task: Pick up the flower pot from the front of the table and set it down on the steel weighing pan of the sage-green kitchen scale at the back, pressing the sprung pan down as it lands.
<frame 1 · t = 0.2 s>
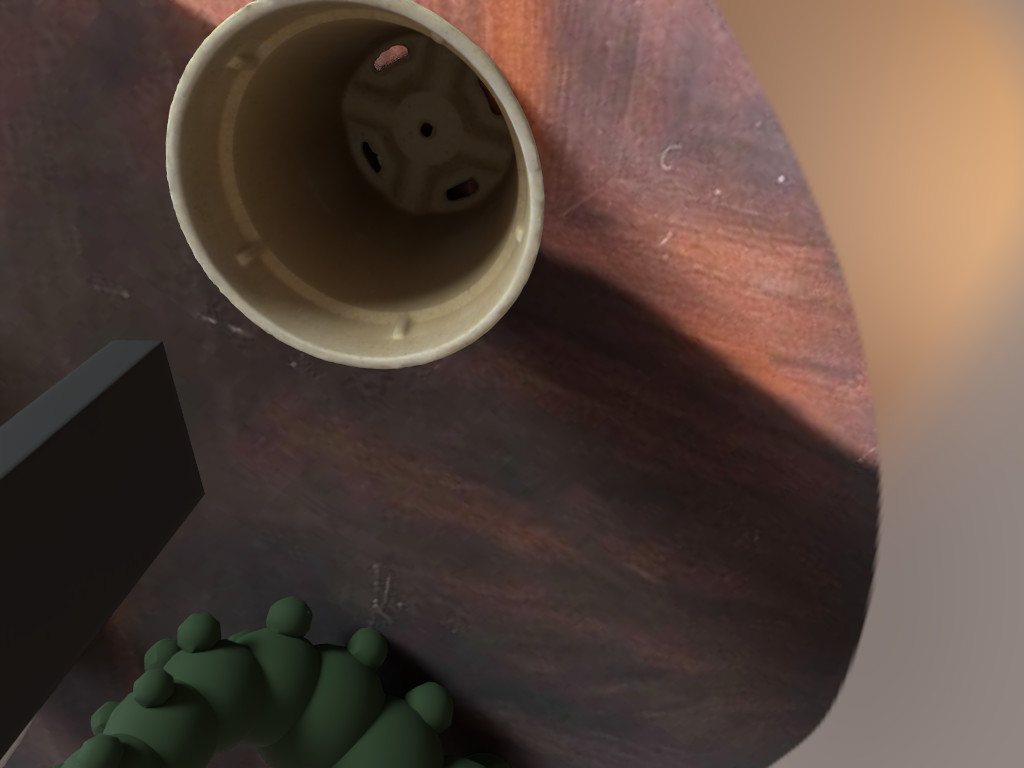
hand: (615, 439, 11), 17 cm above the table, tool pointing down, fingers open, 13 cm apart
flower pot: (430, 127, 26), on the table
toy figurine: (397, 691, 41), on the table
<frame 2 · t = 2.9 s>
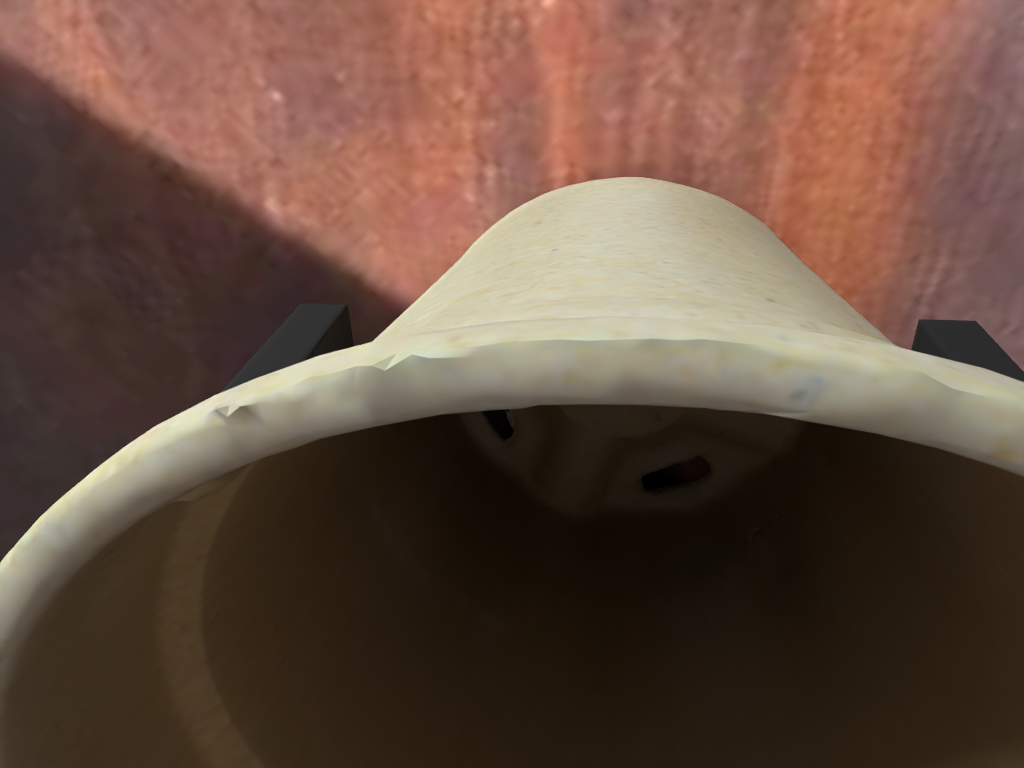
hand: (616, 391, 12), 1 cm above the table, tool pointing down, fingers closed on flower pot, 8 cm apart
flower pot: (618, 359, 13), on the table, touching gripper
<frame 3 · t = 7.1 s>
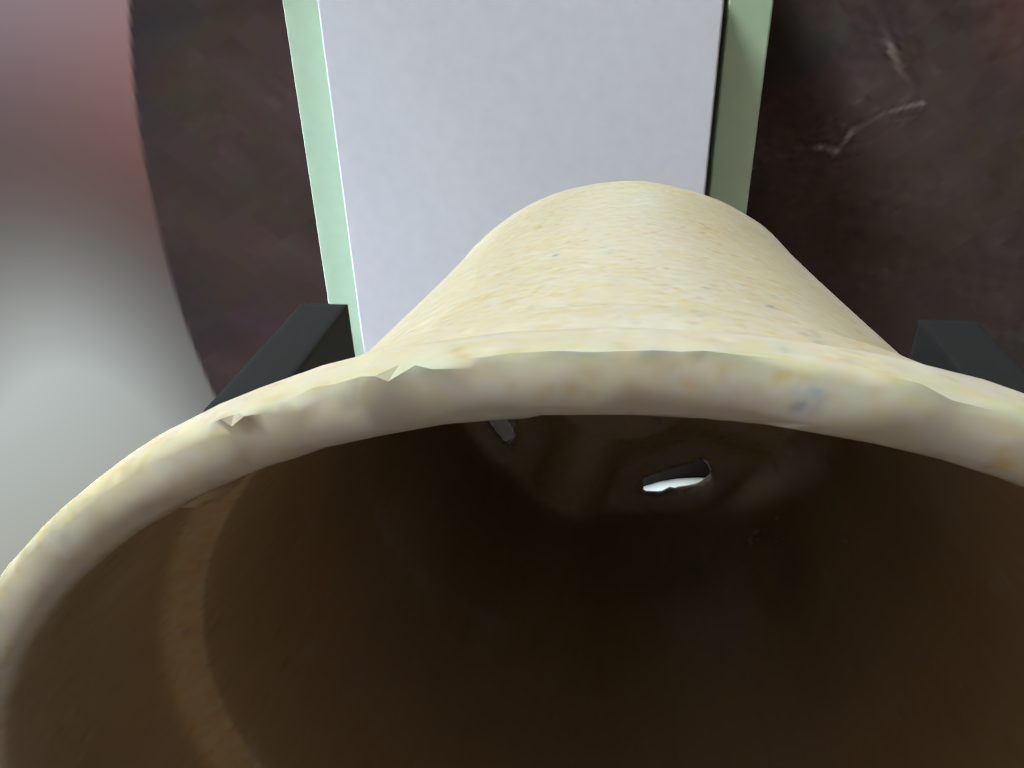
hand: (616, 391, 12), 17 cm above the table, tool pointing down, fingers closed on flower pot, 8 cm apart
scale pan: (521, 191, 24), point 4 cm above the table, slide at 0.0 cm
flower pot: (618, 362, 13), point 16 cm above the table, touching gripper
lidded bowl: (689, 538, 35), on the table
scale: (533, 162, 28), on the table
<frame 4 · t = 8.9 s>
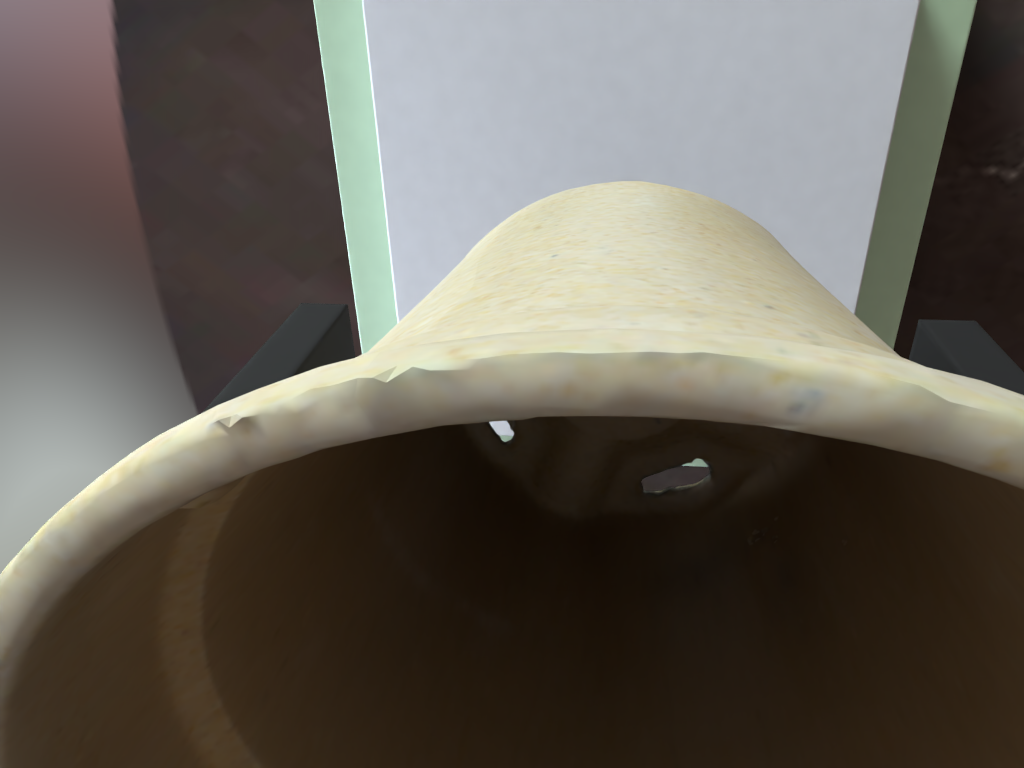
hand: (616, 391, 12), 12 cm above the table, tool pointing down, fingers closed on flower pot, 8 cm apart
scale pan: (619, 231, 19), point 4 cm above the table, slide at 0.0 cm
flower pot: (618, 362, 13), point 11 cm above the table, touching gripper
scale: (620, 189, 22), on the table
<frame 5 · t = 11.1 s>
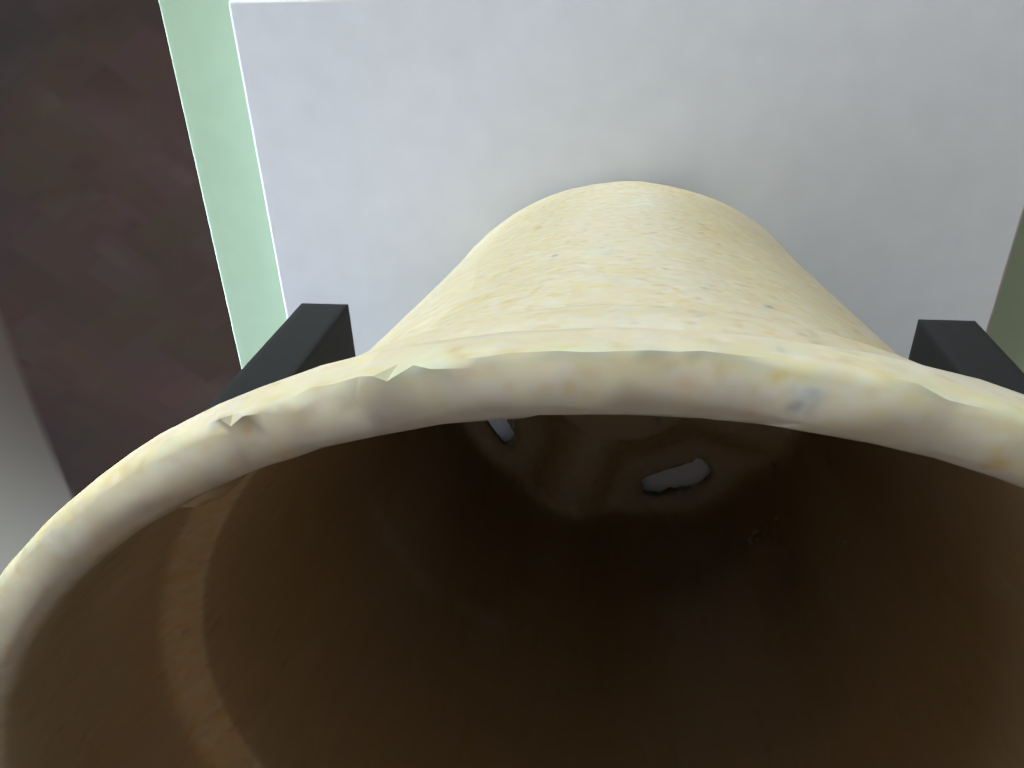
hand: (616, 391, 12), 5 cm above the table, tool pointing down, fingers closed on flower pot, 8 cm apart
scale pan: (615, 347, 13), point 3 cm above the table, slide at -0.3 cm, touching flower pot
flower pot: (618, 362, 13), point 4 cm above the table, touching gripper, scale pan
scale: (617, 274, 16), on the table
when the fingers open (5 cm above the table, at t = 11.2 s): flower pot moves 4 cm, resting on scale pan.
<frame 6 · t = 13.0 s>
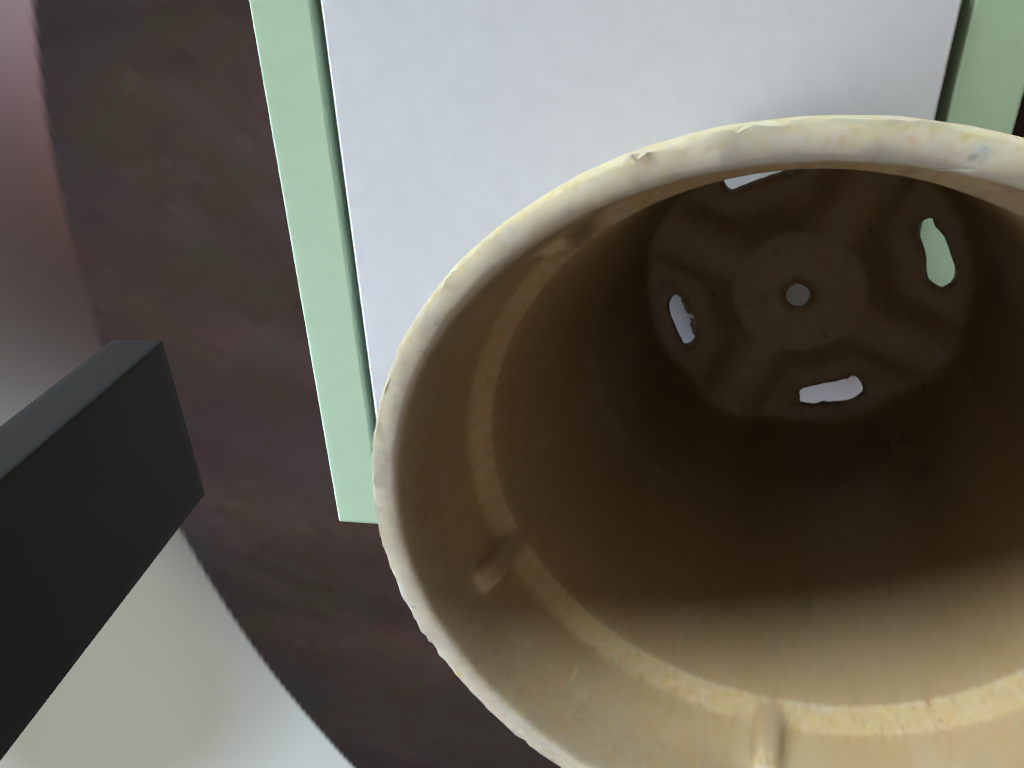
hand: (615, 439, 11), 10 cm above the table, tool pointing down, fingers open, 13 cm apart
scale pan: (615, 268, 17), point 3 cm above the table, slide at -0.9 cm, touching flower pot
flower pot: (794, 284, 15), point 4 cm above the table, touching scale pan
scale: (616, 227, 19), on the table
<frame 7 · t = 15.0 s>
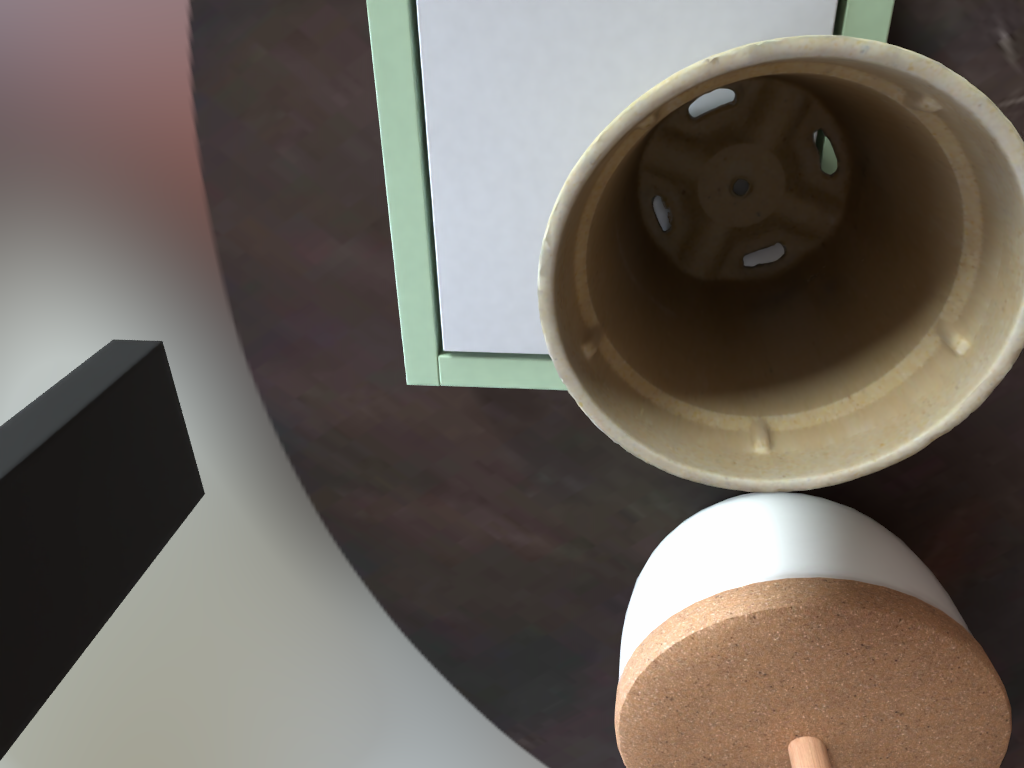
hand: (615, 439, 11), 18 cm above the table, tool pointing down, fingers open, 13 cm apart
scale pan: (614, 183, 24), point 3 cm above the table, slide at -0.9 cm, touching flower pot
flower pot: (736, 183, 23), point 4 cm above the table, touching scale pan
lidded bowl: (761, 554, 34), on the table
scale: (614, 161, 26), on the table
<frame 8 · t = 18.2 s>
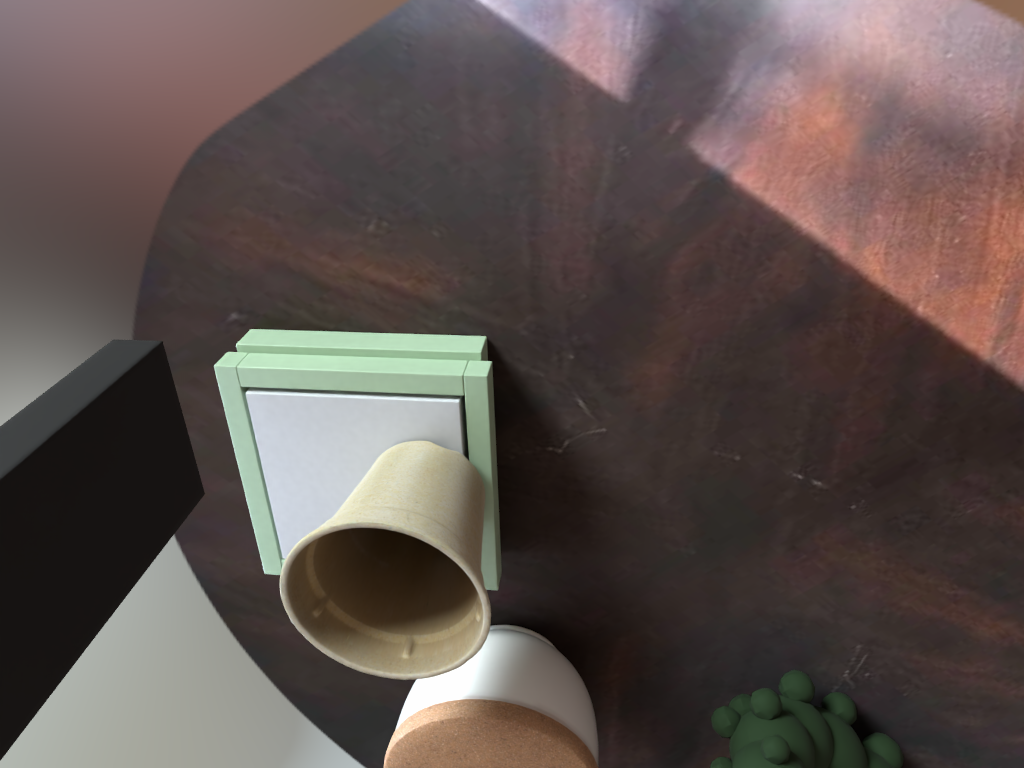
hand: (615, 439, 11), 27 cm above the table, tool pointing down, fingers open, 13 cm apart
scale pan: (367, 478, 42), point 3 cm above the table, slide at -0.9 cm, touching flower pot
flower pot: (428, 485, 41), point 3 cm above the table, touching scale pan
lidded bowl: (510, 660, 52), on the table
toy figurine: (835, 738, 52), on the table
scale: (382, 448, 45), on the table
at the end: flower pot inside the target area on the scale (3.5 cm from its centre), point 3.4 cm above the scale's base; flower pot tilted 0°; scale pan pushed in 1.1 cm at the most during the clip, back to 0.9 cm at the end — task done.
